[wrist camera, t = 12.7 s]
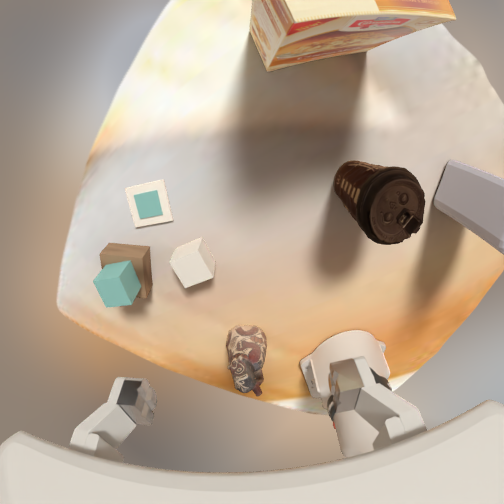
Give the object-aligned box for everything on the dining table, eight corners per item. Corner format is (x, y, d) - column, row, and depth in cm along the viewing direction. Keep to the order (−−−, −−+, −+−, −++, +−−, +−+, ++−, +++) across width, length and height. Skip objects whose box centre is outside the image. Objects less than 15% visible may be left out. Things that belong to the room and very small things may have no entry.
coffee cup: (382, 205, 38) (430, 242, 26) (332, 217, 39) (367, 261, 27) (375, 148, 34) (428, 166, 22) (321, 158, 35) (358, 179, 23)
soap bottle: (447, 155, 34) (570, 211, 11) (475, 177, 35) (580, 236, 13) (429, 204, 38) (540, 287, 15) (458, 220, 39) (554, 297, 17)
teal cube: (141, 286, 38) (131, 304, 34) (117, 289, 39) (106, 307, 35) (130, 260, 36) (118, 277, 32) (105, 264, 37) (93, 281, 33)
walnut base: (152, 284, 43) (146, 298, 40) (115, 279, 43) (106, 292, 39) (150, 245, 40) (142, 258, 36) (110, 242, 39) (99, 253, 36)
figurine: (246, 317, 46) (247, 372, 36) (274, 337, 49) (280, 390, 38) (218, 338, 48) (214, 391, 38) (246, 356, 51) (248, 407, 40)
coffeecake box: (266, 73, 29) (293, 25, 12) (247, 28, 26) (252, -50, 9) (368, 53, 27) (460, 22, 10) (350, 11, 24) (425, -45, 7)
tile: (173, 219, 38) (172, 221, 37) (136, 226, 38) (134, 227, 38) (164, 179, 35) (163, 180, 35) (125, 187, 35) (124, 188, 35)
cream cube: (215, 261, 41) (213, 277, 37) (190, 271, 42) (185, 288, 38) (202, 236, 39) (198, 250, 35) (176, 247, 40) (169, 262, 36)
